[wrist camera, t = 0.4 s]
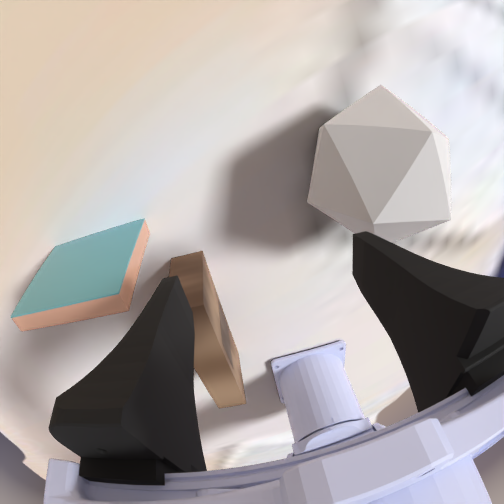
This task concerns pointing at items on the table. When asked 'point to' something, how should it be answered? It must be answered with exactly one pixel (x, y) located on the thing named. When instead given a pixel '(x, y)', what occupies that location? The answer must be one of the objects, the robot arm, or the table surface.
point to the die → (382, 169)
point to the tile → (85, 278)
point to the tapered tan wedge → (210, 332)
